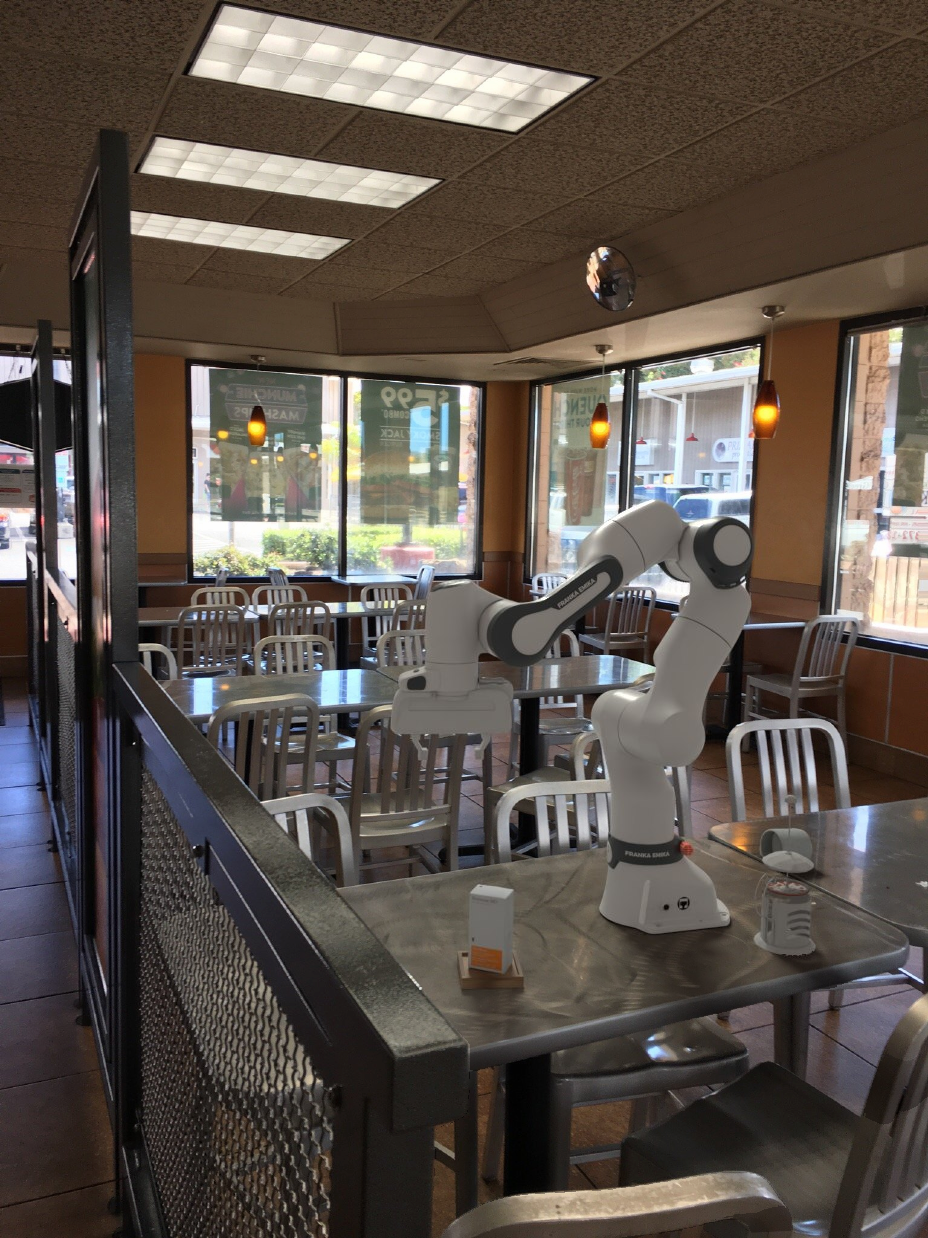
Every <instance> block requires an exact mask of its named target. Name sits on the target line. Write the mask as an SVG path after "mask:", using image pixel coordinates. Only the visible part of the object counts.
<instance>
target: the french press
mask: <svg viewBox="0 0 928 1238" xmlns="http://www.w3.org/2000/svg"><path fill="white" fill-rule="evenodd" d="M797 799H798V798H797V797H796V796H795V795H793V794H788V795H785V798H784V803H787V804H789V813H788V815H789V817H788V829H789V835H788V851H778V852H774V853H771V854H769V855H767V856H765V857H762V859H761V861H762V863H763V864H764V865H765V867H767V868H769V869H771V870H774V871H777V872H783V873H786V877H782V878H780V877H776V876H772V877H771V878H769V874H768V873H764V874H763V875H762V876H761V877H760V879H759V881H758V882H757V885H756V888H755V890H754V898H753V899H754V902H753V904H754V908H755V912H756V913H757V914H758V915H759V916H760V931H759V932H757V933H755V934H754V937H753V941H754V943H755V945H756V946H758V947H759V948H761V949H762V950H765V951H767V952H770V953H773V954H777V955H782V954H786V955H785V956H788V955H792V956H793V955H797V956H798V957H799V955H801V956H803V955H802V954H806V955H810V954H811V953H812V951H813V952H814V951H815V950H816V944H815V943H814V941H813V940H812V939H811V937H810V934H811V928H810V927H811V918H812V917H811V916H812V914H811V912H812V898H813V897H812V896H811V895H810V894H809V892H810V890H811V888H810V887H809V885H808V884H806V883H805V882H802V881H799V880H796V879H790V878H789V873H792V874H793V873H794V874H795V873H796V874H800V873H807V872H809V871H811V870H813V869H814V866H815V863H814V862H812V860H811V859H810V860H809V859H808V858H806V857H804V856H802V855H800V854H798V853H795V852H789V843H790V829H791V821H792V819H791V818H792V816H791V815H792V804H797ZM764 877H766V881H764V884H763V885H764V889H763V890H762V892H761V909H760V910H761V911H760V912H759V910H758V907H757V893H758V892H757V891H758V888H759V885H760V883H761V881H762V880H763V878H764ZM766 895H768V896H771V897H774V898H777V899H780V900H789V902H785V903H784V902H780V901H778V900H777V901H776V900H773V899H772V898H771V899H770V898H769V897H766ZM769 904H771V905H772V906H770V905H769ZM769 911H770V912H771V913H769ZM788 915H789V916H788ZM793 957H794V956H793Z"/></svg>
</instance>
